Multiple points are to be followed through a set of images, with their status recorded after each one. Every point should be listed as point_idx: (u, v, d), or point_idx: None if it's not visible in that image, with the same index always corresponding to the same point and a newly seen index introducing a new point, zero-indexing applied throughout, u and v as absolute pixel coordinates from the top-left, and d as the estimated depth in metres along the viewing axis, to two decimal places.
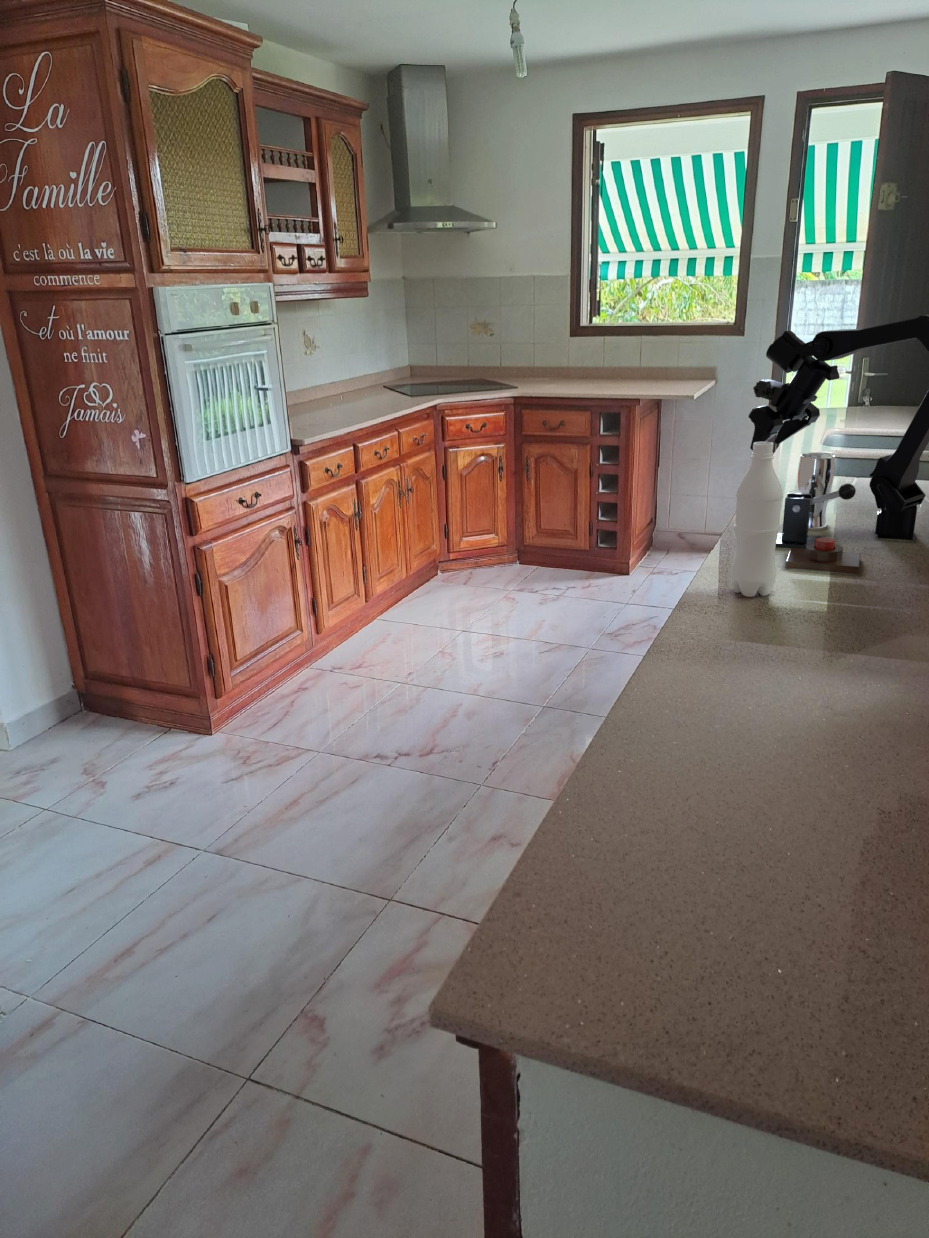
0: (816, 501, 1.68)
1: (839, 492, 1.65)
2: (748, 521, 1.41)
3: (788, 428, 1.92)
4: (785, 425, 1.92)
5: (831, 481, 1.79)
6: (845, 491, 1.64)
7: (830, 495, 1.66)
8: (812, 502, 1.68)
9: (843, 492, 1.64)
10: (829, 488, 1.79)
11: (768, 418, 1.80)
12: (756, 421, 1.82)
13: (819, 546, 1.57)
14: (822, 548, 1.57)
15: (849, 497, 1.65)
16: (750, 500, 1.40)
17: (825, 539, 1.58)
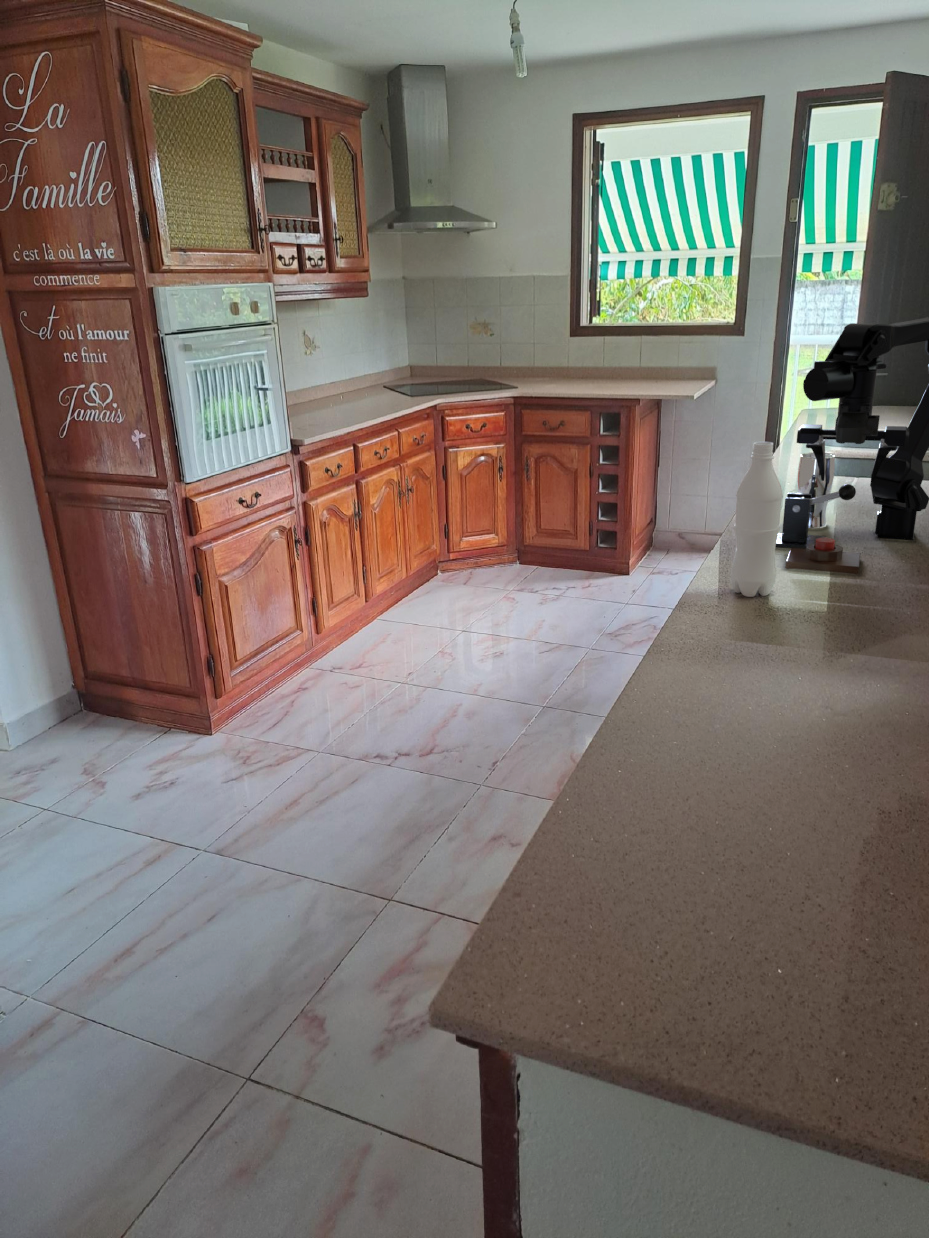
0: (816, 501, 1.68)
1: (839, 493, 1.65)
2: (748, 521, 1.41)
3: (824, 457, 1.65)
4: (823, 457, 1.65)
5: (831, 481, 1.79)
6: (845, 492, 1.64)
7: (830, 495, 1.66)
8: (812, 503, 1.68)
9: (843, 493, 1.64)
10: (829, 488, 1.79)
11: (907, 428, 1.59)
12: None
13: (819, 546, 1.57)
14: (822, 548, 1.57)
15: (849, 498, 1.65)
16: (750, 500, 1.40)
17: (825, 539, 1.58)
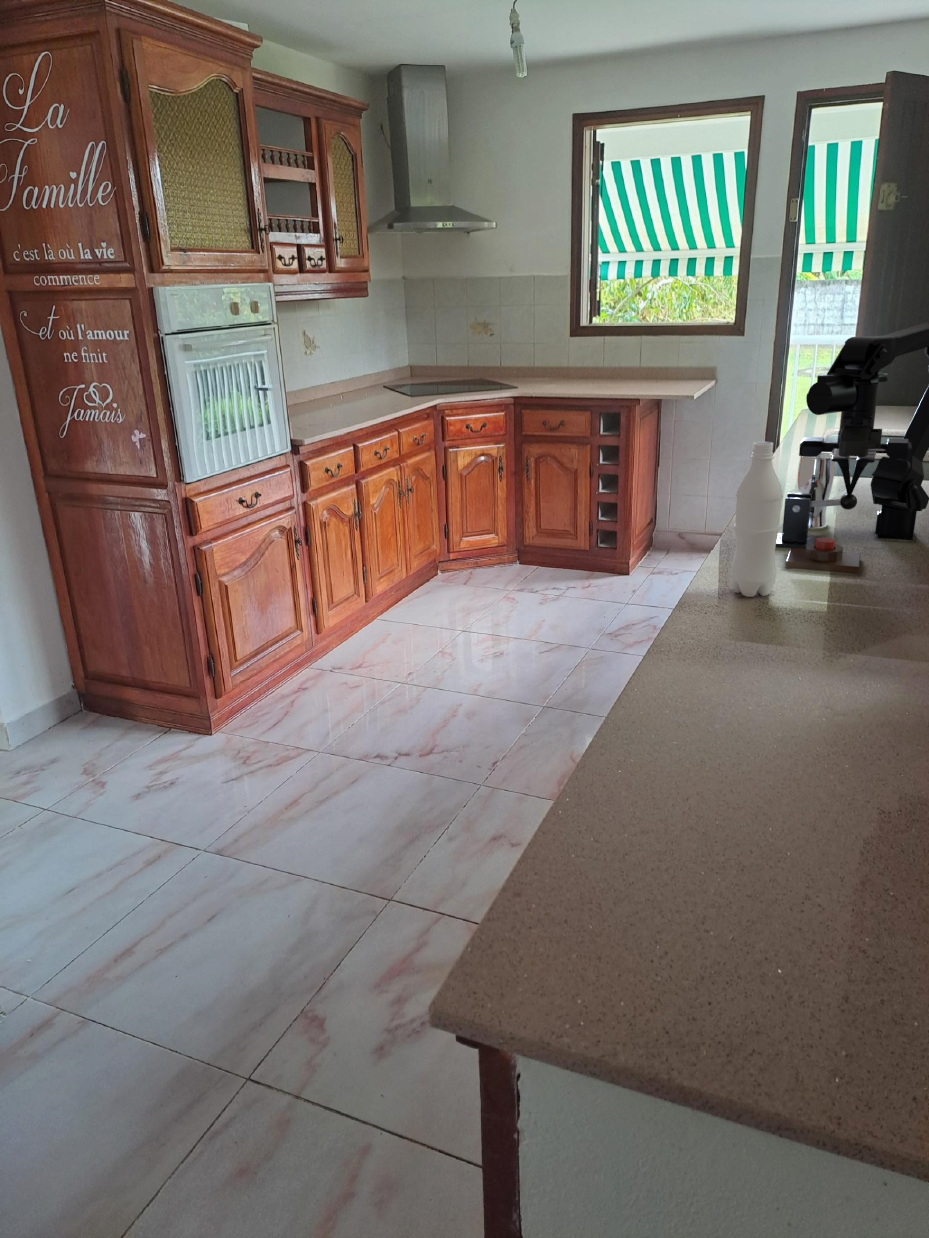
0: (816, 505, 1.68)
1: (841, 501, 1.66)
2: (748, 521, 1.41)
3: None
4: (849, 471, 1.63)
5: (831, 481, 1.79)
6: (847, 501, 1.65)
7: (831, 502, 1.67)
8: (812, 505, 1.68)
9: (845, 501, 1.65)
10: (829, 488, 1.79)
11: (909, 441, 1.59)
12: None
13: (819, 546, 1.57)
14: (822, 548, 1.57)
15: (849, 508, 1.65)
16: (750, 500, 1.40)
17: (825, 539, 1.58)
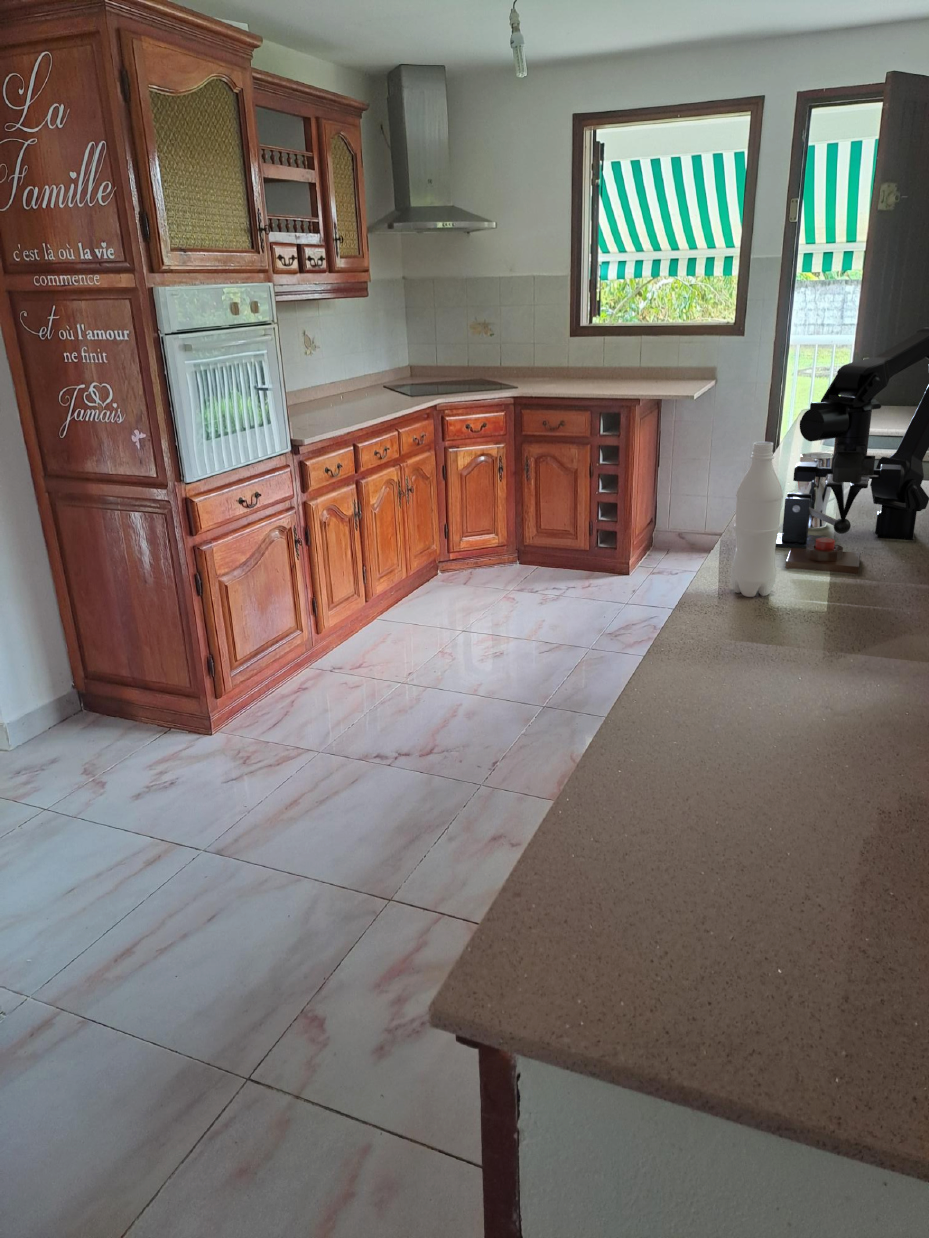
0: (814, 514, 1.69)
1: (836, 522, 1.67)
2: (748, 521, 1.41)
3: (843, 495, 1.66)
4: (843, 496, 1.65)
5: None
6: (842, 525, 1.66)
7: (828, 518, 1.68)
8: (810, 512, 1.69)
9: (840, 525, 1.67)
10: (829, 488, 1.79)
11: (902, 467, 1.61)
12: None
13: (819, 546, 1.57)
14: (822, 548, 1.57)
15: (840, 532, 1.67)
16: (750, 500, 1.40)
17: (825, 539, 1.58)
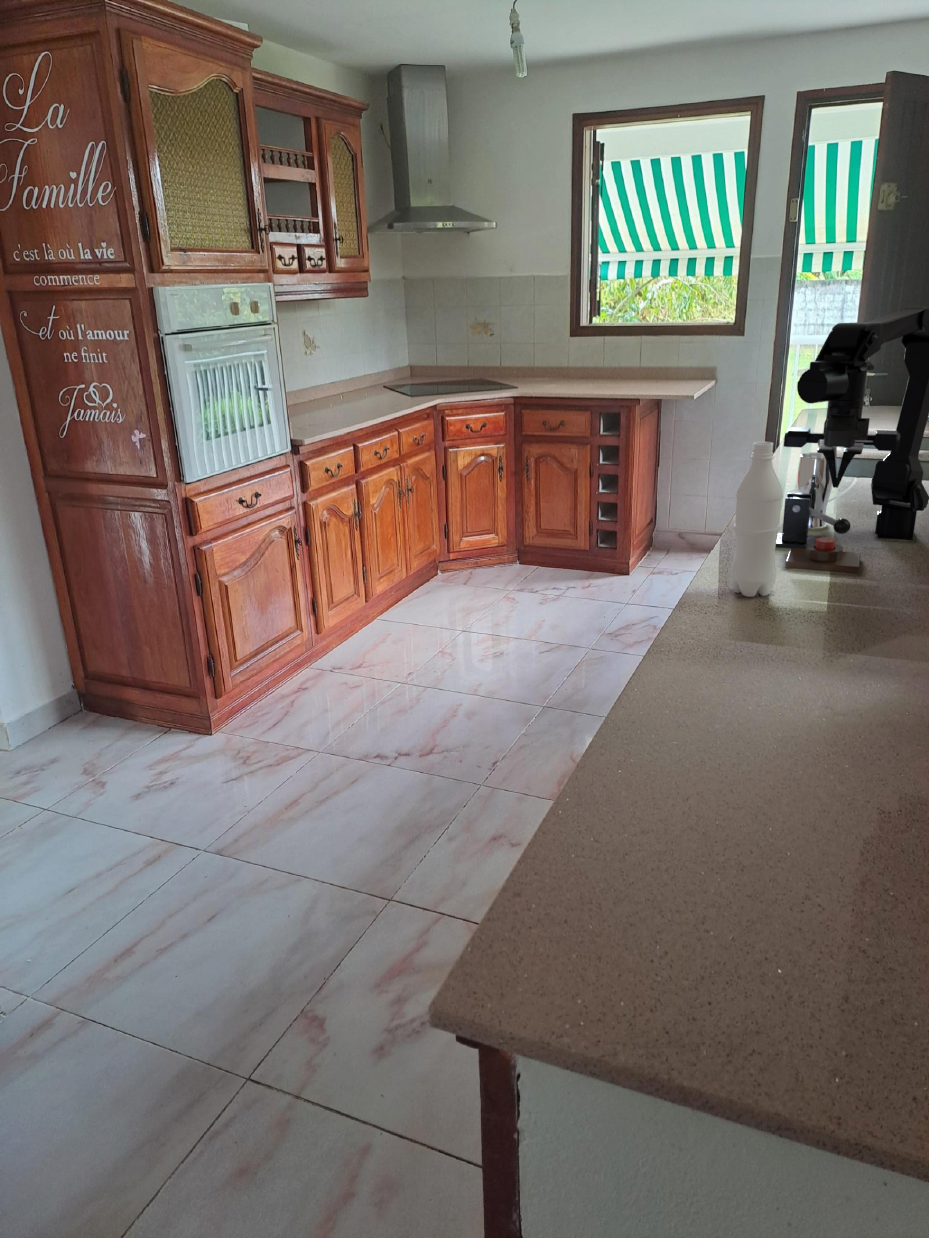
0: (814, 514, 1.69)
1: (836, 522, 1.67)
2: (748, 521, 1.41)
3: None
4: (835, 463, 1.57)
5: (831, 481, 1.79)
6: (842, 526, 1.66)
7: (828, 519, 1.68)
8: (810, 512, 1.69)
9: (839, 525, 1.67)
10: (829, 488, 1.79)
11: (898, 433, 1.53)
12: None
13: (819, 546, 1.57)
14: (822, 548, 1.57)
15: (840, 532, 1.67)
16: (750, 500, 1.40)
17: (825, 539, 1.58)
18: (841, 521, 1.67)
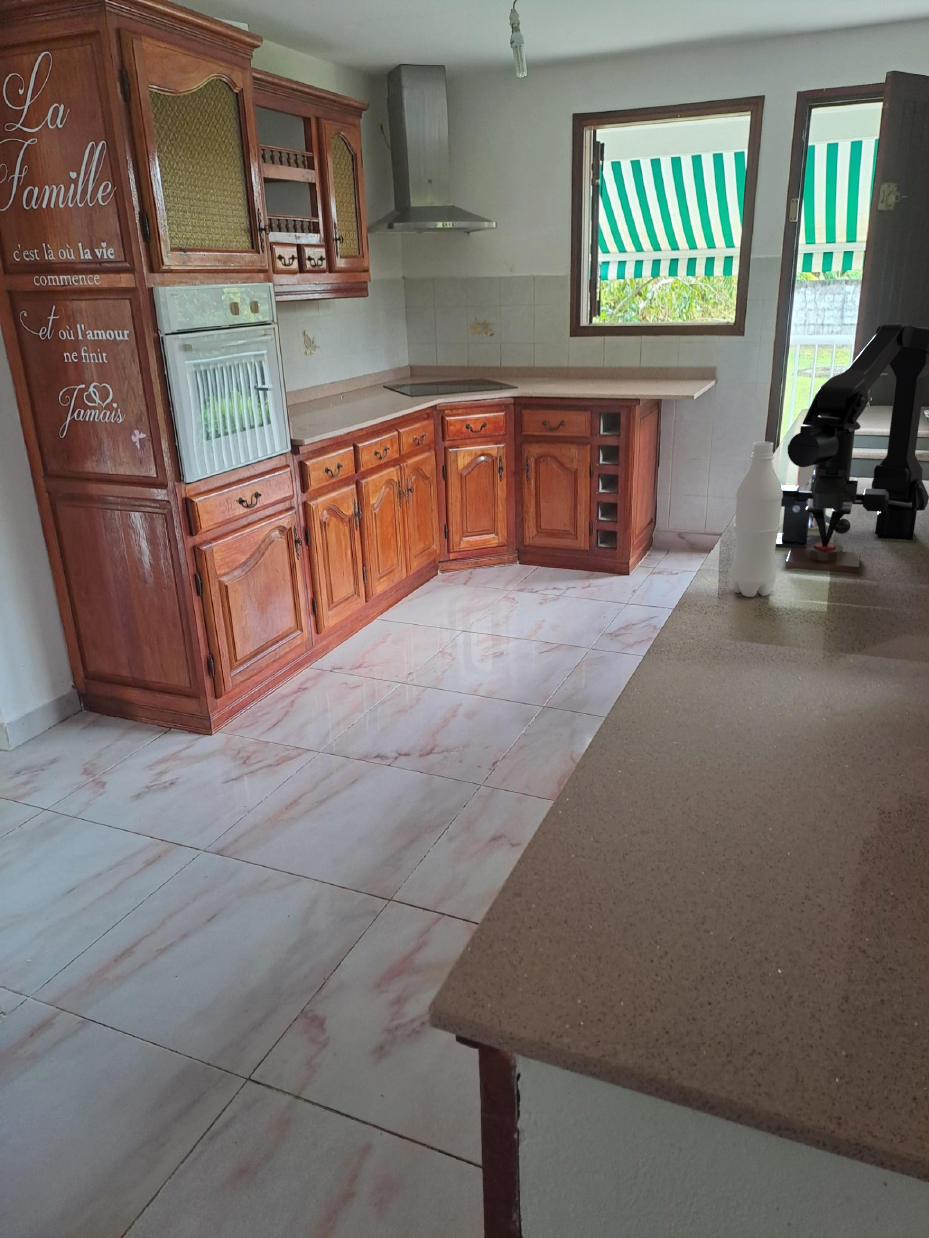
0: None
1: None
2: (748, 521, 1.41)
3: (825, 520, 1.57)
4: (824, 521, 1.56)
5: None
6: (842, 526, 1.66)
7: (828, 519, 1.68)
8: (810, 512, 1.69)
9: (839, 525, 1.67)
10: None
11: (887, 492, 1.52)
12: None
13: None
14: None
15: (840, 532, 1.67)
16: (750, 500, 1.40)
17: None
18: (841, 521, 1.67)
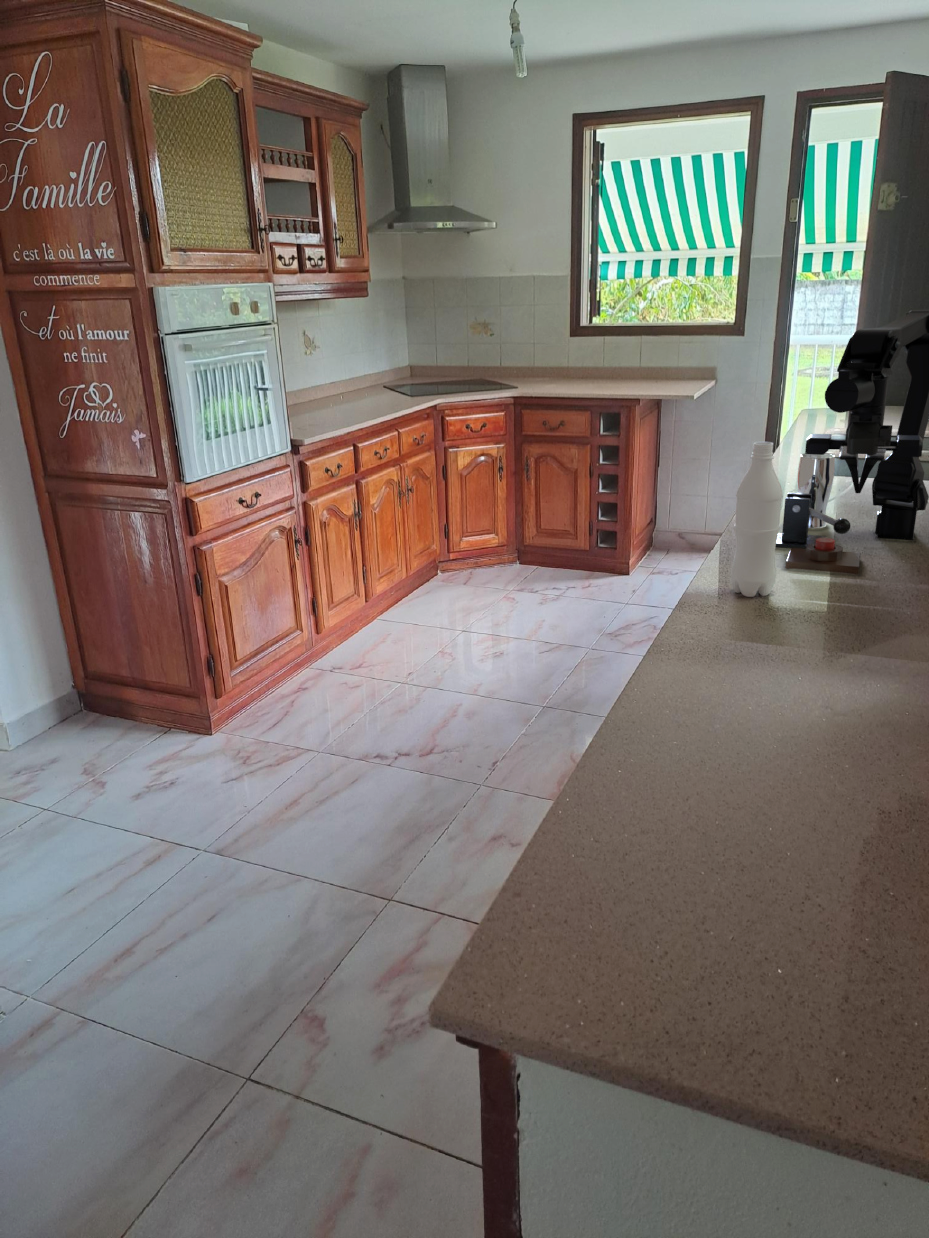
0: (814, 514, 1.69)
1: (836, 522, 1.67)
2: (748, 521, 1.41)
3: None
4: (857, 469, 1.57)
5: (831, 481, 1.79)
6: (842, 526, 1.66)
7: (828, 519, 1.68)
8: (810, 512, 1.69)
9: (839, 525, 1.67)
10: (829, 488, 1.79)
11: (920, 438, 1.52)
12: None
13: (819, 546, 1.57)
14: (822, 548, 1.57)
15: (840, 532, 1.67)
16: (750, 500, 1.40)
17: (825, 539, 1.58)
18: (841, 521, 1.67)
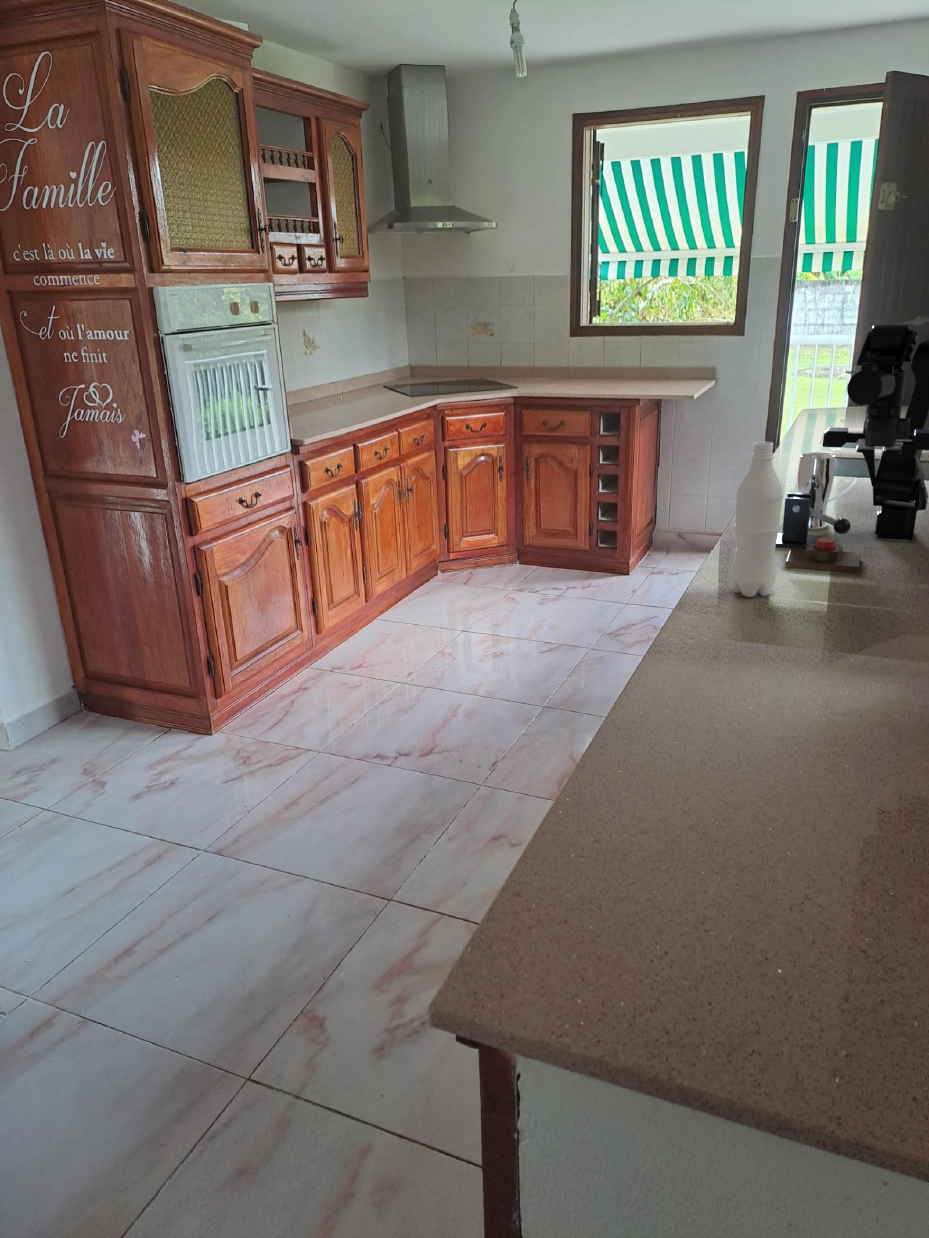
0: (814, 514, 1.69)
1: (836, 522, 1.67)
2: (748, 521, 1.41)
3: None
4: (874, 462, 1.58)
5: (831, 481, 1.79)
6: (842, 526, 1.66)
7: (828, 519, 1.68)
8: (810, 512, 1.69)
9: (839, 525, 1.67)
10: (829, 488, 1.79)
11: None
12: None
13: (819, 546, 1.57)
14: (822, 548, 1.57)
15: (840, 532, 1.67)
16: (750, 500, 1.40)
17: (825, 539, 1.58)
18: (841, 521, 1.67)
